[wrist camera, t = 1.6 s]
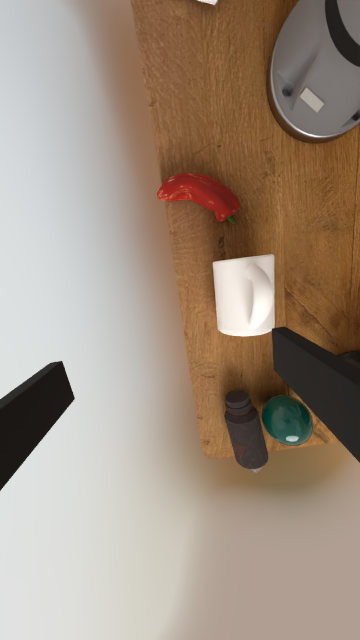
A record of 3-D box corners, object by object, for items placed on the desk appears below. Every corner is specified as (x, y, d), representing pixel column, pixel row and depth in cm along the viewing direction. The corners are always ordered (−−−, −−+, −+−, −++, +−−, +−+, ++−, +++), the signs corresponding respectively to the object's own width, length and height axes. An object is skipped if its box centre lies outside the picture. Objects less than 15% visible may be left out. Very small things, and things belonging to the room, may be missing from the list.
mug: (214, 323, 35) (230, 350, 24) (208, 262, 33) (224, 259, 21) (261, 318, 35) (301, 342, 23) (260, 256, 32) (304, 249, 21)
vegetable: (226, 237, 32) (156, 201, 30) (242, 204, 31) (171, 164, 29) (234, 232, 28) (153, 189, 26) (254, 193, 27) (171, 145, 25)
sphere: (268, 379, 38) (290, 408, 30) (304, 394, 39) (335, 426, 31) (247, 412, 40) (263, 447, 32) (282, 426, 40) (306, 464, 33)
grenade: (234, 410, 32) (255, 492, 34) (260, 394, 35) (279, 471, 36) (208, 394, 39) (226, 463, 41) (231, 382, 42) (247, 447, 43)
